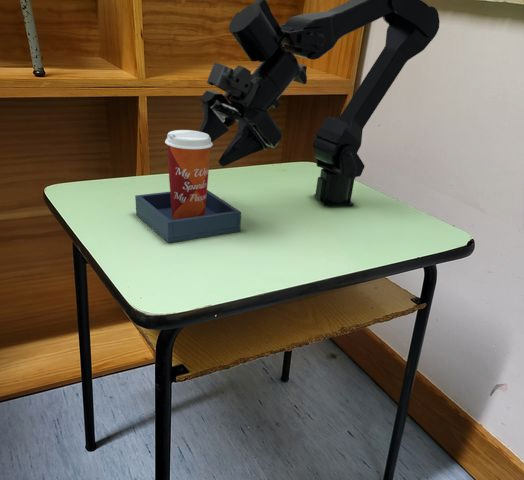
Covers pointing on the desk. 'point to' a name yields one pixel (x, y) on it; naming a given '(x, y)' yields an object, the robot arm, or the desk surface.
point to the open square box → (161, 221)
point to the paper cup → (188, 172)
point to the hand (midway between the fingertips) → (207, 157)
